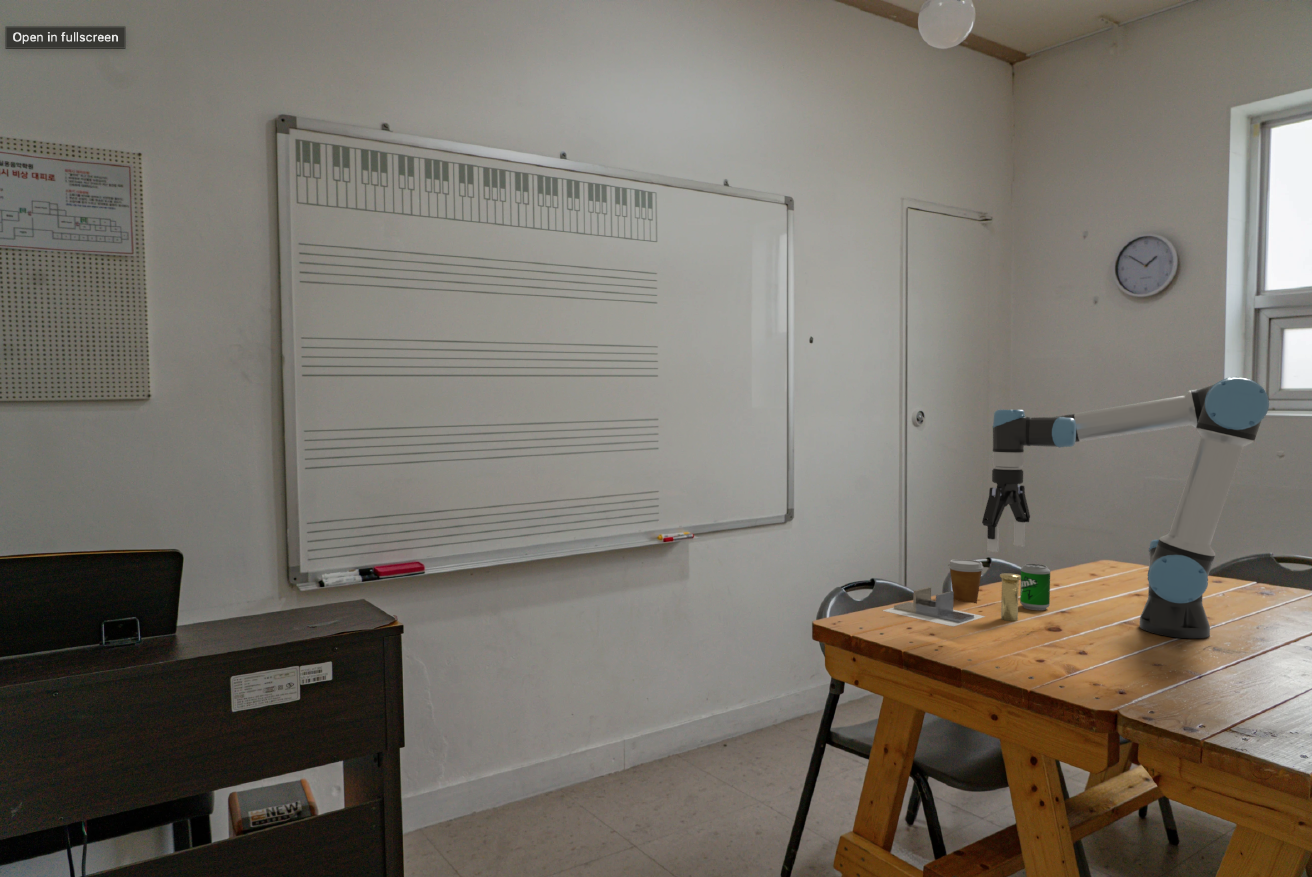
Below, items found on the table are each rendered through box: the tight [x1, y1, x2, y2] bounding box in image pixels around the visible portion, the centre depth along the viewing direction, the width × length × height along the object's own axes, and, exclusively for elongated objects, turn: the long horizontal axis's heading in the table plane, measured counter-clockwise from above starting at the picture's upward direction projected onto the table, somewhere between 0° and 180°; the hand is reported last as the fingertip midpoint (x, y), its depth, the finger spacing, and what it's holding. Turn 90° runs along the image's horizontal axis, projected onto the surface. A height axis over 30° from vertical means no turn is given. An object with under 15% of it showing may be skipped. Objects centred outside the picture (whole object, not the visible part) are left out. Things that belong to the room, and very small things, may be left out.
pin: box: [999, 572, 1021, 622], centre depth 215 cm, size 5×5×13 cm
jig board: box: [882, 607, 986, 628], centre depth 221 cm, size 21×16×1 cm
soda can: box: [1019, 563, 1051, 611], centre depth 233 cm, size 8×8×12 cm
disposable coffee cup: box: [947, 558, 984, 604], centre depth 238 cm, size 10×10×12 cm
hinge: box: [893, 586, 974, 623], centre depth 221 cm, size 19×7×6 cm, turn 41°
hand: (1006, 549), depth 217 cm, fingers open, 13 cm apart
